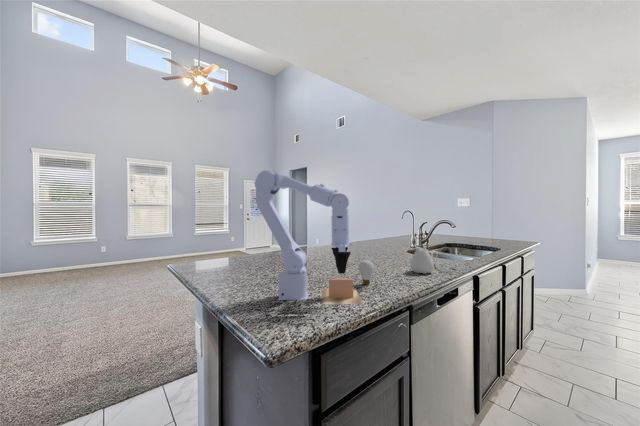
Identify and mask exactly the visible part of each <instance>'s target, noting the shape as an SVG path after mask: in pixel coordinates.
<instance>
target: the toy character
mask: <svg viewBox="0 0 640 426" xmlns="http://www.w3.org/2000/svg"><path fill="white" fill-rule="evenodd" d="M434 268H435V264H434V260H433V259H432V256H431V254H430V252H429V251H428V249H427V248H426V246H423V248H421V247H420V246H418V247H417V248H416V250H415V251H414V254H413V256H412V257H411V260H410V269H411V271H413V272H414V273H416V274H419V273H423V275H426V273H428V274H430V273H432V272H433V271H434Z"/></svg>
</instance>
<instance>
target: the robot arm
mask: <svg viewBox="0 0 640 426" xmlns="http://www.w3.org/2000/svg"><path fill="white" fill-rule="evenodd" d="M253 184H254V187H255V203H256V206H257V207H258V210H259V211H260V213H261V215H262V217H263V219H264V220H265V222H266V224H267V225H268V228H269V230H270V231H271V233H272V235H273V236H274V239H275V240H276V242H277V244H278V246H279V248H280V254H281V257H282V258H283V265H284V268H285V269H284V270H285V271H280V272H279V275H278V301H283V300H285V301H286V300H287V301H290V300H291V301H294V300H297V301H298V300H300V301H301V300H302V301H303V300H304V301H305V300H307V301H308V299H309V292H310V291H309V292H308V274H307V273H308V272H307V271H308V269H307V268H306V266H305V265H306V264H307V262H308V255H307V253H306V252H305V251H304V250H302V248H300V246H299V245H298V243H296V242H295V240H294V239H293V236H292V235H291V233H290V231H289V230H288V228H287V226H286V224H285V223H284V220H283V219H282V217H281V215H280V213H279V212H278V210H277V208H276V206H275V205H274V200H275V199H274V198H275V197H276V195H277V194H278V191H280V189H282V190H283V189H288V188H289V189H292V190H294V191H297V192H301V194H305V195H308V197H309V199H310V200H311V201H312V202H315V203H316V204H317V203H318V204H320V205H322V206H325V207H327V208H328V207H329V208H330V207H331V210H332V211H331V213H332V214H331V251H332V254H333V256H334V262H335V266H336V270H337V274H346V272H347V265H348V260H349V258H350V255H351V252H352V251H348V249H349V248H348V247H349V246H353V245H354V244H353V242H350V218H349V217H350V216H349V209H348V207H349V205H350V201H349V199H348V197H347V195H346V194H344V193H342V192H341V193H340V192H339V193H338V190H337V189H334V190H332V189H331V188H327V187H326V186H325V184H323V183H320V184H317V183H316V184H315V185H313V186H312V185H309V184H307V183H305V182H302V181H300V180H297V179H296V178H292V177H290V176H288V175H285V174H281V173H277V172H271V171H270V170H263V171H262V170H261V172H259V173H258V174H257V175H256V179H255V181H254V183H253Z"/></svg>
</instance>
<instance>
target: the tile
mask: <svg viewBox="0 0 640 426" xmlns="http://www.w3.org/2000/svg"><path fill="white" fill-rule="evenodd" d="M353 287H354V278H353V277H347V278H346V277H343V278H342V277H339V278H337V277H336V278H335V277H333V278H330V277H329V278H328V288H329V298H353Z"/></svg>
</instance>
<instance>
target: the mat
mask: <svg viewBox="0 0 640 426" xmlns="http://www.w3.org/2000/svg"><path fill="white" fill-rule="evenodd" d="M322 305H323V306H326V305H329V306H331V305H339V306H340V305H363V303H362V300H361V298H360V295H359V294H358V292H357V289H356V287H355V286H353V298H329V287H322Z"/></svg>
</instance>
